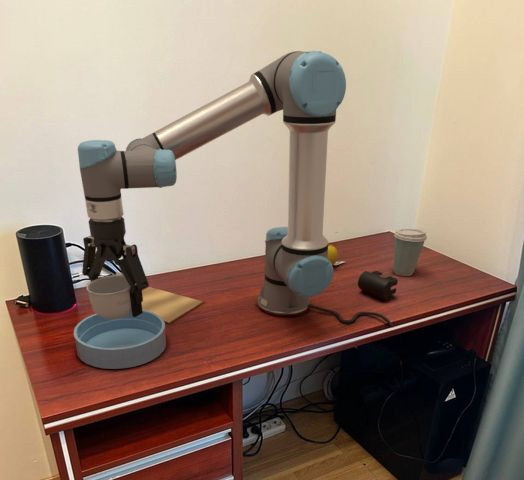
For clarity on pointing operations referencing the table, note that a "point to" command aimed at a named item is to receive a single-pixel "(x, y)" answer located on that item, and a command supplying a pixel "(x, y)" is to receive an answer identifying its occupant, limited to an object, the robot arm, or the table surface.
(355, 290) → the table surface
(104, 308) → the teacup
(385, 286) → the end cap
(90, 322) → the bowl
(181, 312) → the placemat
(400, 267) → the disposable coffee cup
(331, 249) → the lemon
